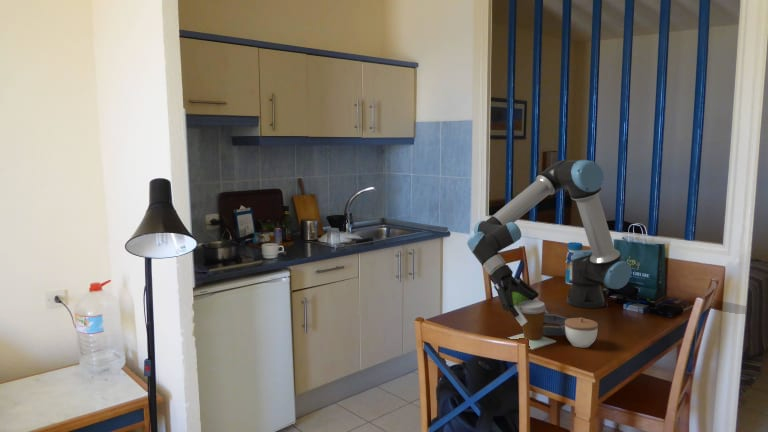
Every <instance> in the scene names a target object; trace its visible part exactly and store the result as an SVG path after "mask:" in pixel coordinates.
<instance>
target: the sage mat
mask: <svg viewBox="0 0 768 432" xmlns="http://www.w3.org/2000/svg"><path fill="white" fill-rule="evenodd" d="M508 338H510V339H519V338H524V334H523V333H519V334H516V335H512V336H509V337H508ZM525 339H526V338H525ZM555 343H557V340H555V339H552V338H549V337H546V336H544V335H543V336H542V338H541V339H539V340H529V346H530V348H529V350H537V349H540V348H543V347H545V346H549V345H553V344H555Z"/></svg>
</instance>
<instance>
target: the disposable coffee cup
mask: <svg viewBox="0 0 768 432" xmlns="http://www.w3.org/2000/svg"><path fill="white" fill-rule="evenodd" d="M518 309H519V310H520V312H521V313H522V314H523V316H524V317H525V318H526V320H527V321H528V322H527V323H525V324H524V325H523V326H521V327H522V332H523V334H524V338H526V339H528V340H539V339H541V338H542V336H543V337H544V335H543V326H544V324H545V323H544V312H545V309H546V310H547V307H546V305H545V302H543V301H540V300H539V301H535V300H528V301H523V302H520V303H519V306H518Z"/></svg>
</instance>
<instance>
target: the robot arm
mask: <svg viewBox="0 0 768 432" xmlns="http://www.w3.org/2000/svg"><path fill="white" fill-rule="evenodd" d="M604 178H605V175H604V170H603V169H602V167H601V166H600V165H599V164H598V163H597V162H595V161H592V160H588V159H562V160H559V161H558V162H555V163H554V164H552V165H551V166H549V167H547V168H546V169H545V170H543V171H542V172H541V173H539V174H538V175H537V176H536V177H535V179H536V180H535V181H534V182H532V183H531V184H529V185H528V186H527V187H526V188H525V189H524V190H522V191H521V192H520V193H518V194H517V195H516V196H515V197H514V198H512V199H511V200H510V201H509V202H507V203H506V204H505V205H504V206H503V207H501V208H500V209H499V210H498V211H496V213H494V214H493V215H492V216H490V217H489V218H488V219H487V220H480V221H478V222H477V223H476V224H475V225H474V228H473V233H474V234H472V235H471V236H470V237H469V238H468V240H467V242H466V245H467V247H468V248H469V250H470V252H471V253H472V254H473V255H474V257H475V258H476V260H477V261H478V262H479V263H480V265H481V267H483V269H484V270H485V271H486V273H487V274H488V275H489V276H490V279H491V280H492V281H493V283H494V286H493V287H494V290H495V291H496V293H497V295H498V298H499V302H500V304H501V308H502V309H503V310H504V311H506V312H510V313H511V315H512V316H513V317H514V318H515V320H516V321H517V323H518V324H519V325H520V327H522V326H523V325H524V324H525V323H527V322H528V321H527V320H526V318H525V317H524V316H523V314H522V313H521V312H520V310H519V309H518V308H517V306H514V303H513V297H512V292H518V293H520V294H521V295H523V296H525V297H526V298H528V299H530V300H535V301H540V300H539V299H538V297H540V296H539V294H540V293H539V292H537V290H535V289H534V288H532V286H530V285H528V283H526V282H525V281H524V280H523V279H522V277H520V276H519V275H516V277H514V276H513V273H514V271H513V270H512V269H511V267H510V266H509V264H507V261H505V260H504V258H503V257H502V256H501V254H500V253H499V252H500V251H502V250H504V249H506V248H508V247H510V246H511V245H514V244H515V243H516V242H518V241H520V240H521V238H522V231H521V229H520V227H519V226H518V224H517V223H515V222H517V221H518V220H519V219H521V218H522V217H523V216H525V214H527V213H528V212H529V211H530V210H532V209H533V208H534V207H535V206H536V205H538V204H539V203H540V202H542V201H543V200H544V199H545V198H546V197H547V196H549V195H550V196H553V195H554V194H555V193H557V192H558V191H561V190H568V193H569V197H570V199H571V200H573V201H575V202H576V206H577V209H578V211H579V216H580V219H581V222H582V225H583V229H584V233H585V234H586V235H585V236H586V239H587V242H588V244H589V247H590V249H584V250H583V249H582V251H576V252H574V253H573V259H572V285H570V289H569V291H568V294H567V297H566V303H567V304H568V305H571V306H573V307H577V308H584V309H599V308H602V307H605V303H606V301H605V297H604V293H603V290H602V287H601V286H603V287H605V288H607V289H611V290H619V289H621V288H624V287H625V286H626V285H627V284H628V283H629V281H630V279H631V276H632V267H631V266H630V264H629V262H627V261H624V260H623V258H622V255H621V252H620V251H619V250H618V249H616V248H615V245H614V243H613V239H612V236H611V233H610V230H609V225H608V223H607V218H606V215H605V211H604V209H603V206H602V202H601V199H600V196H599V195H600V193H601V192H602V186H603V184H604V182H603V181H604V180H605V179H604ZM513 306H514V307H513ZM546 314H549V312H548V310H547V308H546V309H545V312H544V315H546Z"/></svg>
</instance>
